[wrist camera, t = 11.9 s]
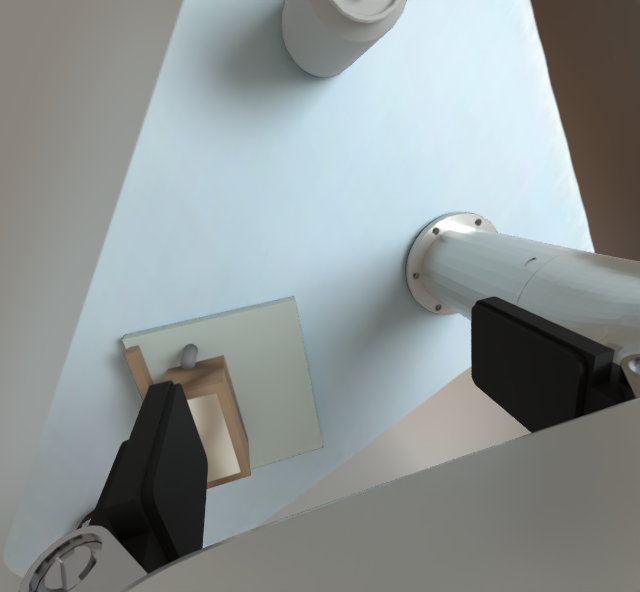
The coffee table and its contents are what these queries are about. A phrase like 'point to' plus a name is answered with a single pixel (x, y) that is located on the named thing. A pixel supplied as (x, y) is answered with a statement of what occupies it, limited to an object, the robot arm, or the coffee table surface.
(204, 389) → the wooden box
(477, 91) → the coffee table surface
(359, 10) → the can
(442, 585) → the robot arm
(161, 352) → the wall board
